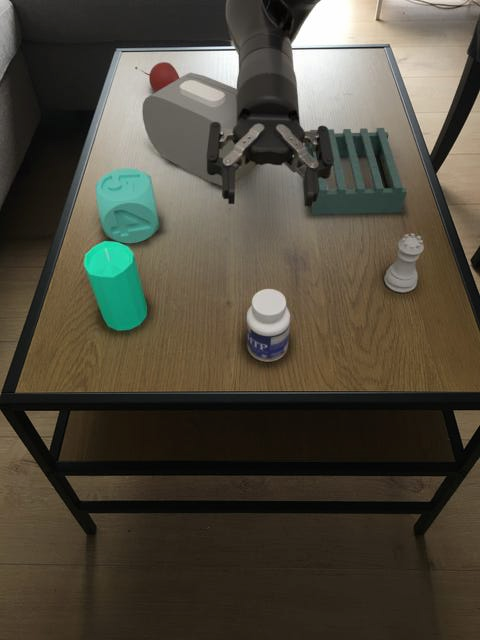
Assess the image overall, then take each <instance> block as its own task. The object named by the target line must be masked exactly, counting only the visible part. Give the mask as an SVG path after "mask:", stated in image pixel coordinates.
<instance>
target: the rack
mask: <svg viewBox="0 0 480 640" xmlns="http://www.w3.org/2000/svg"><path fill="white" fill-rule="evenodd" d="M317 130H318V129H309V131H317ZM328 132H329V137H330V142H331V147H332V152H333V157H334V163H333V165H332V170H333V174H334V175H333V176H334V180H335V181H334V182H335V185H336V189H328V184H327V179H323V178H321V177H320V178H318V180H319V193H318V197H317V200H316V202H312V206H310V210H311V211H310V212H311V215H312V216H317V215H318V216H319V215H321V216H322V215H324V216H325V215H355V214H357V215H359V214H362V215H363V214H390V213H392V214H396V213H402V212H403V209H404V204H405V201H406V197H407V195H408V194H407V193H408V190H407V188H406V187H403V184H402V181H401V177H400V175H399V171H398V168H397V165H396V161H395V158H394V154H393V153H392V149H391V146H390V143H389V132H388V131H386V129H385V127H376V129H375V132H374V131H371V132H369V130H368V128H367V127H366V128H365V127H364V128H359V132H352V130H351V128H343V130H342V133H341V132H340V133H339V132H338V133H335V129H334V128H328ZM303 144H304V145H305V146H306V148H307V152H308V153H309V154H310V155H311V156H312V157H313V158H314V159H315V160H316V161H317V157H316V152H312V149H311V148H310V146H309V144H307V143H303ZM376 156H377V157H379V162H380V165H381V167H382V168H381V169H382V171H383V175H384V178H385V181H386V186H387V188H385V186H384V183H383V181H382V176H381V173H380V170H379V166H378V163H377V159H376ZM341 157H345V158H346V157H348V161H349V165H350V170H351V175H352V179H353V183H354V188H353V189H350V188H349V189H347V186H346V185H347V184H346V181H345V176H344V172H343V167H342V166H343V165H342V161H341ZM359 157H365V159H366V163H367V166H368V169H369V174H370V177H371V182H372V185H373V188H366V187H365V183H364V182H365V181H364V179H363V175H362V170H361V166H360V163H359Z"/></svg>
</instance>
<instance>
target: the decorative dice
mask: <svg viewBox="0 0 480 640" xmlns="http://www.w3.org/2000/svg"><path fill="white" fill-rule="evenodd" d="M95 197H96V203H97V209H98V215H99V219H100V223H101V226H102V229H103V233H104V235H105V236H106V237H108V238H109V239H111V240H113V241H114V242H119V243H121V244H137V243H142V242H144V241H146V240H148V239H149V238H150V237H152V236H153V235H154V234H156V232H157V231H158V230H159V229H160V222H159V216H158V210H157V204H156V199H155V192H154V188H153V182H152V177H151V175H149V174H148V173H146V172H145V171H142V170H140V169H137V168H130V167H128V168H127V167H126V168H119V169H115V170H112V171H109V172H108V173H106V174H104V175H102V177H100V179H99V180H98V181H97V182H96V184H95Z"/></svg>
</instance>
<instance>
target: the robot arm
mask: <svg viewBox="0 0 480 640" xmlns="http://www.w3.org/2000/svg"><path fill="white" fill-rule="evenodd" d="M321 1H322V0H226V3H225V13H224V14H225V23H226V27H227V31H228V33H229V36H230V39H231V41H232V44H233V46H234V49H235V51H236V53H237V55H238V73H237V74H238V75H237V79H236V89H237V93H236V101H237V124H236V126H235V127H234V128H233V129H226V128H221V125H220V123H219V122H212V123H211V124H210V132H209V140H208V149H207V173H208V174H209V175H215V174H218V175H220V176H221V177H222V186H221V196H222V198H223V200H227V204H228V205H235V202H236V182H235V175H236V174H237V173H238V172H239V171H243V170H244V169H245V168H246V167H247V166H248V165H249V164H250V163H251V162H255V165H256V166H262V165H263V166H264V165H272V166H283V164H284V165H285V166H286V167H287V168H288V169H289V170H290V171H291V172H292V173H294V174H295V173H297V174H298V175H299V176H300V177H301V178H302V179H303V181H302V187H303V201H304V207H311V206H312V202H316V200H317V197H318V193H319V180H318V178H320V177H321V178H323V179H326V180H327V179H329V178H330V177H331V173H332V169H333V163H334V157H333V152H332V147H331V142H330V137H329V132H328V129H329V128H328V127H327V126H326V125H319V126H318V127H317V129H316V130H317V131H310V130H309V131H305V130H304V128H303V127H302V125H301V121H300V119H301V118H300V108H299V106H300V105H299V95H298V94H299V93H298V82H297V75H296V72H295V68H294V54H293V53H294V52H293V46H292V44H293V43H294V41H295V40H296V38H297V37H298V34H299V33H300V31H301V29H302V27H303V25H304V23H305V22H306V20H307V19H308V17H309V16H310V14H311V12H312V11H313V10H314V8H316V6H317V4H319V3H320V2H321ZM228 141H233V143H234V144H235V146H234V148H233V150H232V151H231V152H230V153H229V154H228V155H227V156H226V157H225V158H220V157H219V150H220V149H223V148H224V146H226V144H227V142H228ZM304 143H307V144H309V146H310V148H311V149H312V152H316V157H317V161H316V160H315V159H314V158H313V157H312V156H311V155H310V154H309V153H308V152H307V148H306V146H305V145H304Z"/></svg>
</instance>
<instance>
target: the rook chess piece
mask: <svg viewBox="0 0 480 640" xmlns="http://www.w3.org/2000/svg"><path fill="white" fill-rule="evenodd" d="M415 235H416V234H415V233H410V235H409V233H407V234H404V236H403V237H402V238H401V239H399V241H398V243H397V247H398V248H399V249H398V250H397V257H396V260H395V262H393V263H392V265H390V266H389V267H388V268H387V269H386V271H385V274H384V279H383V281H384V282H385V285H386V286H387V287H388V288H389V289H390V290H391V291H393V292H396V293H399V294H400V293H401V294H403V293H408V292H409V293H410V292H411V291H412V290H415V288H416V286H417V284H418V279H419V276H418V275H419V273H418V272H417V268H416V266H417V265H416V263H417V261H418V259H419V258H420V254H421V253H423V251H424V249H425V245H424V242H423V241H424V240H423V239H422V236H420V235H417V236H415Z"/></svg>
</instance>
